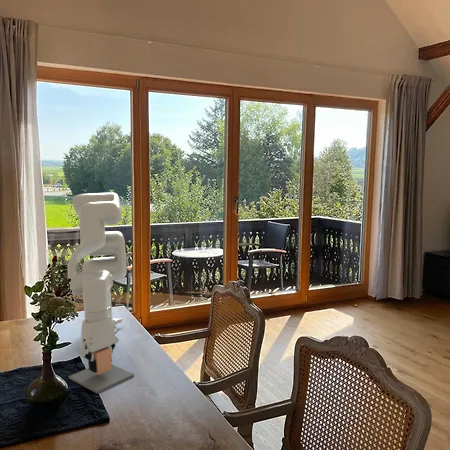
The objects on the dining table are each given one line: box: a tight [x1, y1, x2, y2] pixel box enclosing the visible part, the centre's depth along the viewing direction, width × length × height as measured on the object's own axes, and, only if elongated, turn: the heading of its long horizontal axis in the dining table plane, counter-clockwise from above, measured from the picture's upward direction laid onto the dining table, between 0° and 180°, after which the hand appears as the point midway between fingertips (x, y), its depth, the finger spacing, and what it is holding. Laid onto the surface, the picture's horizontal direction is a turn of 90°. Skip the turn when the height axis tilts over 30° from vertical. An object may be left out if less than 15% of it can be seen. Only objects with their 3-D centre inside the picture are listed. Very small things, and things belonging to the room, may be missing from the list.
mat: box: [68, 364, 135, 394], centre depth 148 cm, size 14×16×1 cm
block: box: [94, 347, 113, 375], centre depth 147 cm, size 5×5×7 cm
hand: (100, 367), depth 147 cm, fingers closed on block, 5 cm apart
